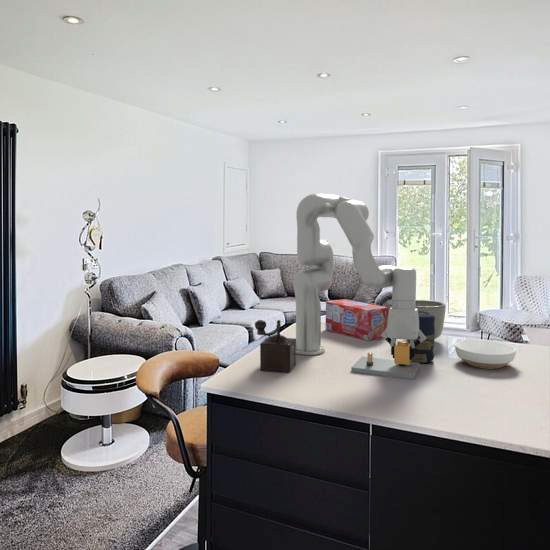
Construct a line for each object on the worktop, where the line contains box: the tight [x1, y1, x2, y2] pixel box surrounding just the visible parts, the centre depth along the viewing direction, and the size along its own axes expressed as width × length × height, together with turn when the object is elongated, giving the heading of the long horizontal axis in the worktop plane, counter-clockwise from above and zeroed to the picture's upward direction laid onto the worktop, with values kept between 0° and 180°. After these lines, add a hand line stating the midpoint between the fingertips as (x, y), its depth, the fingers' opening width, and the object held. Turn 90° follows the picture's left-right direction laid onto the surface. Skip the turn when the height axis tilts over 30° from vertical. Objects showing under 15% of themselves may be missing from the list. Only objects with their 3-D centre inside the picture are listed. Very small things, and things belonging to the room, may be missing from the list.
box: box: [325, 298, 389, 342], centre depth 213 cm, size 27×13×14 cm, turn 36°
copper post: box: [367, 352, 373, 366], centre depth 162 cm, size 2×2×6 cm
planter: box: [416, 299, 446, 341], centre depth 198 cm, size 17×17×16 cm
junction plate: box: [350, 355, 421, 380], centre depth 162 cm, size 20×14×2 cm
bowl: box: [454, 339, 517, 370], centre depth 167 cm, size 20×20×6 cm
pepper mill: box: [254, 319, 297, 374], centre depth 161 cm, size 16×11×18 cm
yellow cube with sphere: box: [393, 340, 413, 365], centre depth 161 cm, size 5×5×7 cm
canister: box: [406, 311, 435, 364], centre depth 171 cm, size 10×10×18 cm
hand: (402, 357), depth 161 cm, fingers closed on yellow cube with sphere, 4 cm apart
